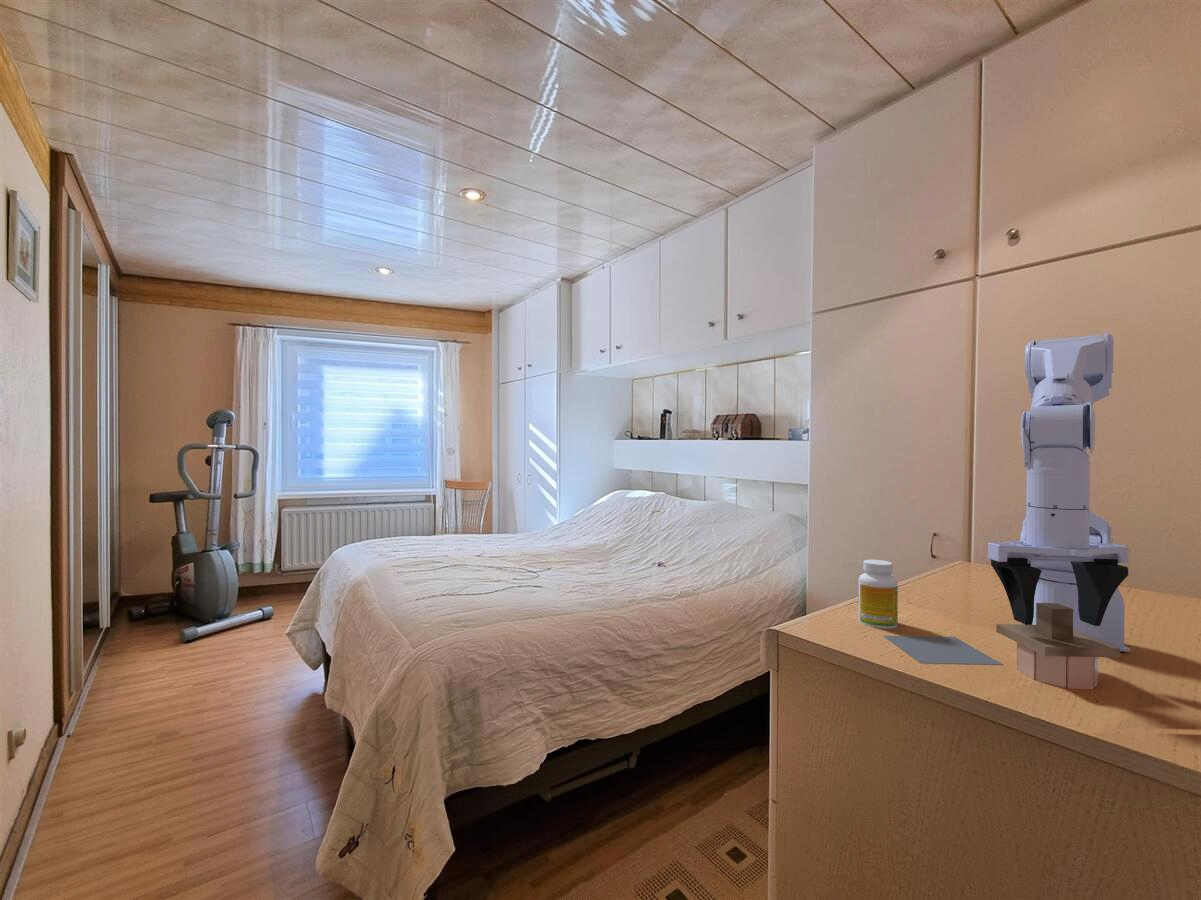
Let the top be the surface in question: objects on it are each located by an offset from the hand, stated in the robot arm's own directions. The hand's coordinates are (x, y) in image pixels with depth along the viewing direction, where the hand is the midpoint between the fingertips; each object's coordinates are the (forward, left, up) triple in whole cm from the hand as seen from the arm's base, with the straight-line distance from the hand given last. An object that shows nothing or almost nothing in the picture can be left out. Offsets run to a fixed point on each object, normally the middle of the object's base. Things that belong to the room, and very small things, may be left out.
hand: (1056, 622), depth 64 cm
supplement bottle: (+12, -19, -7) cm, 23 cm away
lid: (0, 0, -3) cm, 3 cm away
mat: (+9, -8, -7) cm, 14 cm away
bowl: (0, 0, -7) cm, 7 cm away
